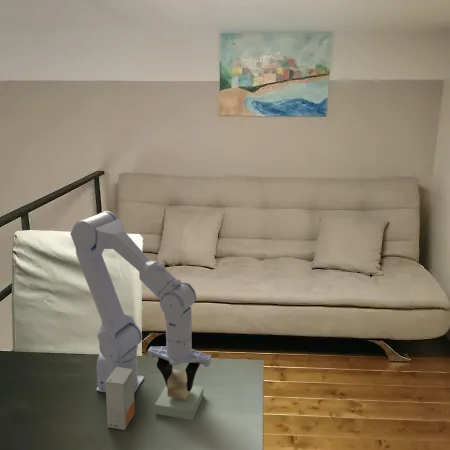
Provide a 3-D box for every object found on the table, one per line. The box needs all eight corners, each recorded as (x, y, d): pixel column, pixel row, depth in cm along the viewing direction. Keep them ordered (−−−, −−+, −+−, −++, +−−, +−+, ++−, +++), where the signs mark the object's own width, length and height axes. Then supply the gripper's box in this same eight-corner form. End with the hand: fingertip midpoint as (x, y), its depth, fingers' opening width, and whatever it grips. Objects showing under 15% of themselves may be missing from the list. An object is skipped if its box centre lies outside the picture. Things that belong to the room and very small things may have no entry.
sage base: (155, 413, 116) (154, 404, 115) (168, 390, 124) (168, 381, 123) (192, 420, 114) (192, 411, 113) (203, 395, 122) (203, 387, 122)
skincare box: (125, 431, 110) (122, 384, 107) (107, 428, 111) (104, 381, 107) (135, 413, 116) (133, 368, 112) (118, 410, 117) (115, 365, 113)
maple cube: (167, 396, 117) (167, 380, 115) (174, 385, 121) (173, 369, 119) (186, 399, 116) (186, 383, 114) (191, 388, 120) (191, 371, 118)
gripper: (142, 340, 111) (144, 392, 115) (205, 349, 108) (204, 402, 112) (153, 325, 118) (155, 374, 122) (213, 333, 115) (212, 384, 119)
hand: (179, 387), depth 118 cm, fingers closed on maple cube, 4 cm apart
